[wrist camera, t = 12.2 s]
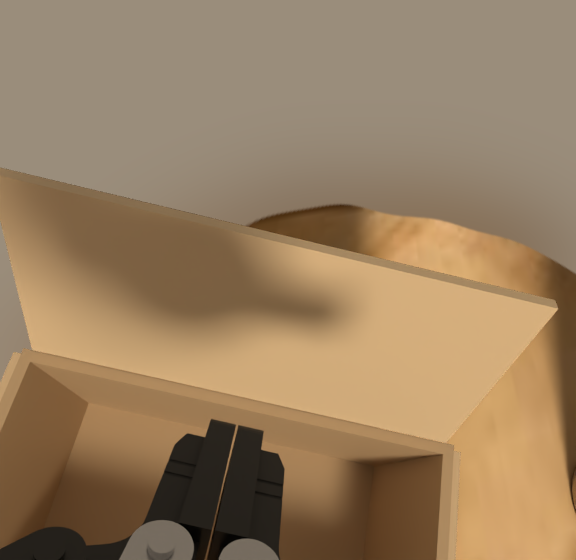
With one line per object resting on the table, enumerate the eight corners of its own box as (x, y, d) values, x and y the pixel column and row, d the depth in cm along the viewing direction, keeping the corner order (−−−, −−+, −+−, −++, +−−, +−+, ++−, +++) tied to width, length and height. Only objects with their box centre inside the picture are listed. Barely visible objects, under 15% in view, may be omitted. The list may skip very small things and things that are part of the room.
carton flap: (446, 442, 27) (445, 435, 28) (558, 308, 20) (555, 300, 20) (32, 349, 26) (36, 342, 27) (-12, 172, 19) (-5, 166, 19)
